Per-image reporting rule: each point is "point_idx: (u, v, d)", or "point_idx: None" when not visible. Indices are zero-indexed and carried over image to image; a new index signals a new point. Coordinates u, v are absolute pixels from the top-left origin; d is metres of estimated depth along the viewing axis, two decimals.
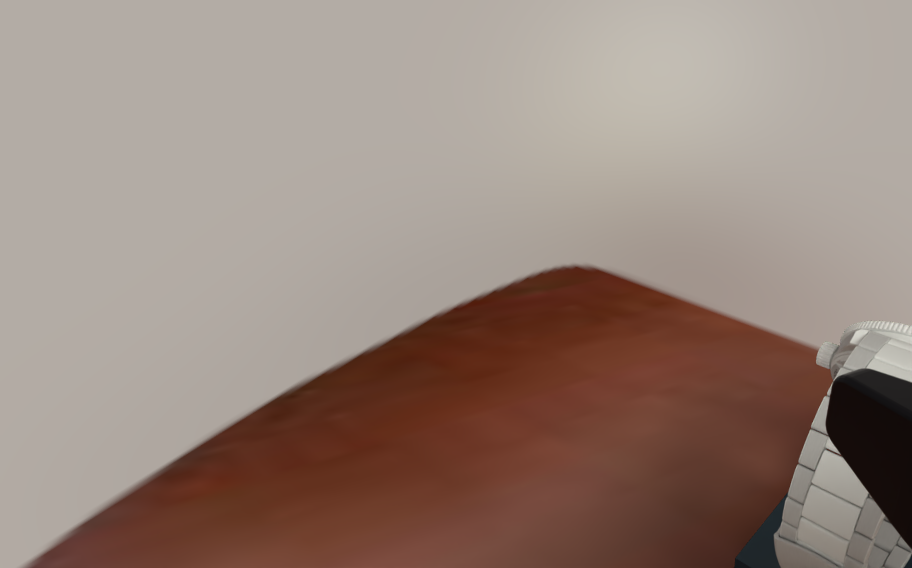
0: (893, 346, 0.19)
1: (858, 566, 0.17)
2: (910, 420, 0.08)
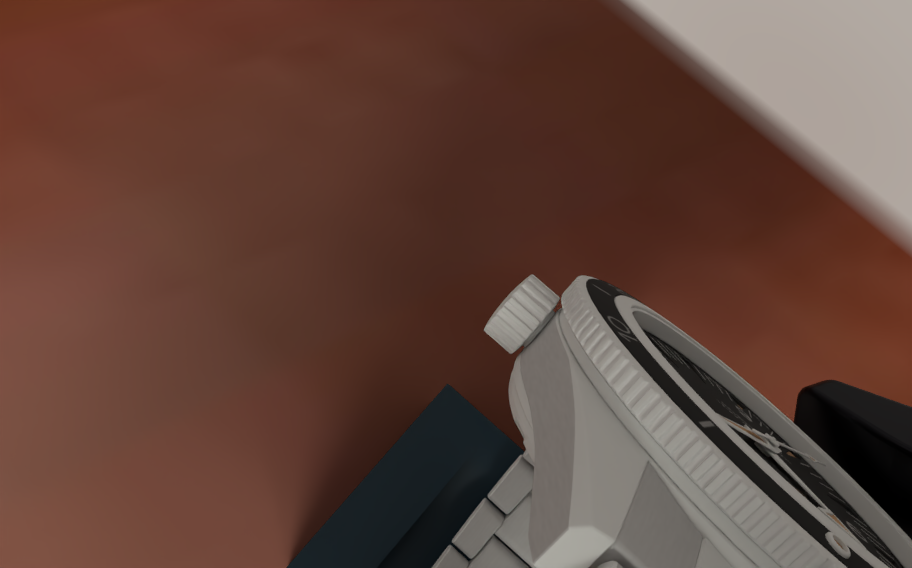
0: None
1: None
2: (871, 434, 0.08)
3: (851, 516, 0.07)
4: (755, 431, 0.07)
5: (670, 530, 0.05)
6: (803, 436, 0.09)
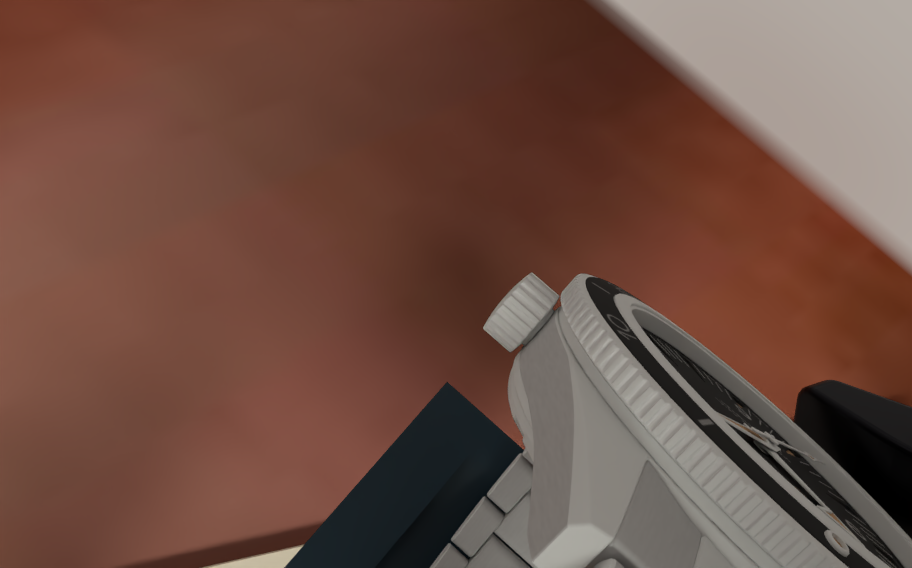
0: None
1: None
2: (871, 434, 0.08)
3: (850, 514, 0.07)
4: (754, 429, 0.07)
5: (669, 528, 0.05)
6: (802, 435, 0.09)
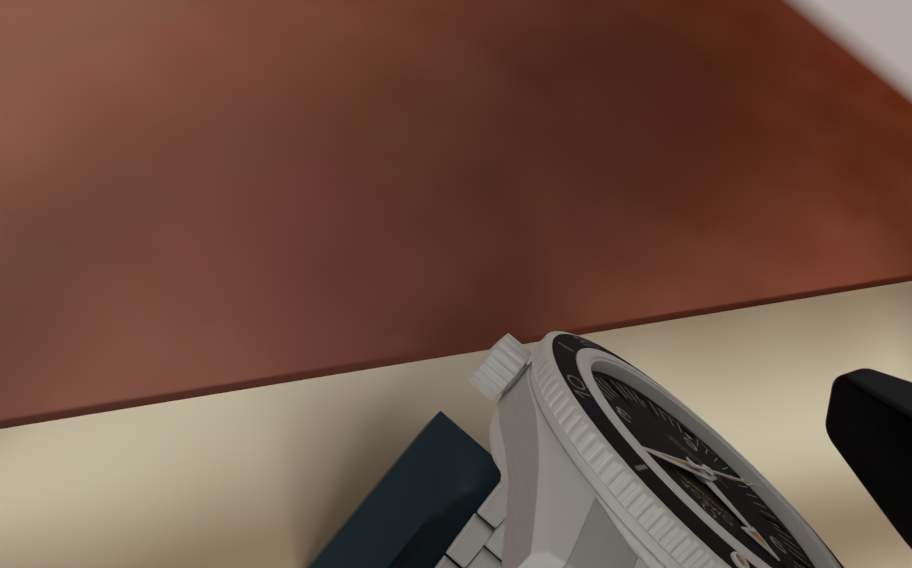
0: None
1: None
2: (910, 420, 0.08)
3: (777, 530, 0.09)
4: (692, 464, 0.08)
5: (611, 553, 0.06)
6: (743, 461, 0.10)
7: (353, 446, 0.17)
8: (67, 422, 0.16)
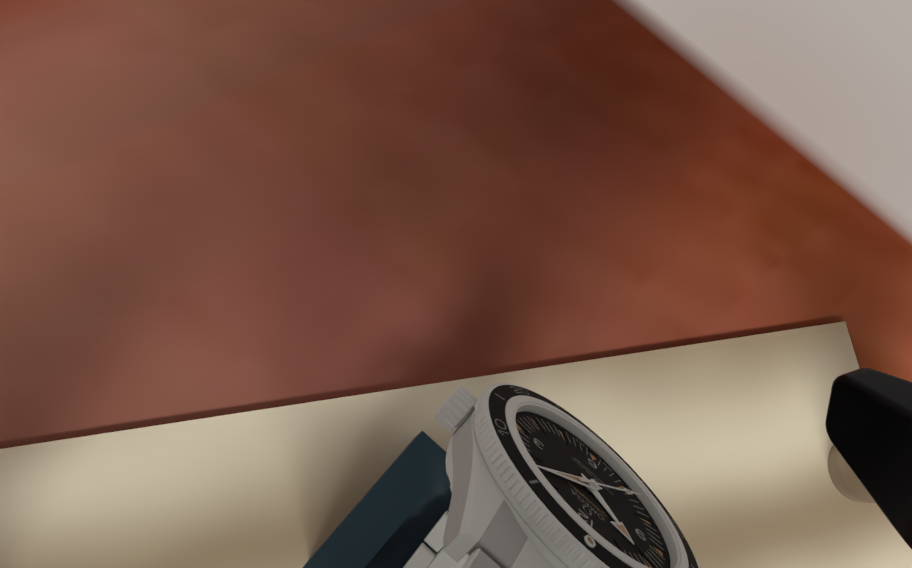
0: None
1: None
2: (910, 420, 0.08)
3: (645, 525, 0.13)
4: (581, 479, 0.12)
5: (510, 534, 0.10)
6: (632, 476, 0.14)
7: (355, 456, 0.21)
8: (127, 433, 0.20)
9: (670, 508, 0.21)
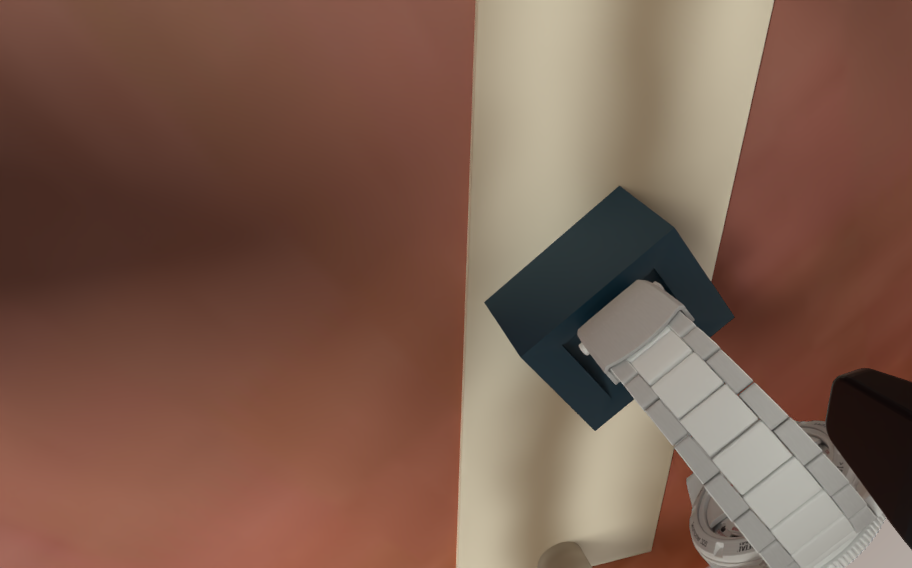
0: (847, 534, 0.15)
1: (623, 378, 0.16)
2: (910, 420, 0.08)
3: None
4: None
5: None
6: None
7: (681, 225, 0.24)
8: (764, 31, 0.21)
9: (571, 446, 0.28)
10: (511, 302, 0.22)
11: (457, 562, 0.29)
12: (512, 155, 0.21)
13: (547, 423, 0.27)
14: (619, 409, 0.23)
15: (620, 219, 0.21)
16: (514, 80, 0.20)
